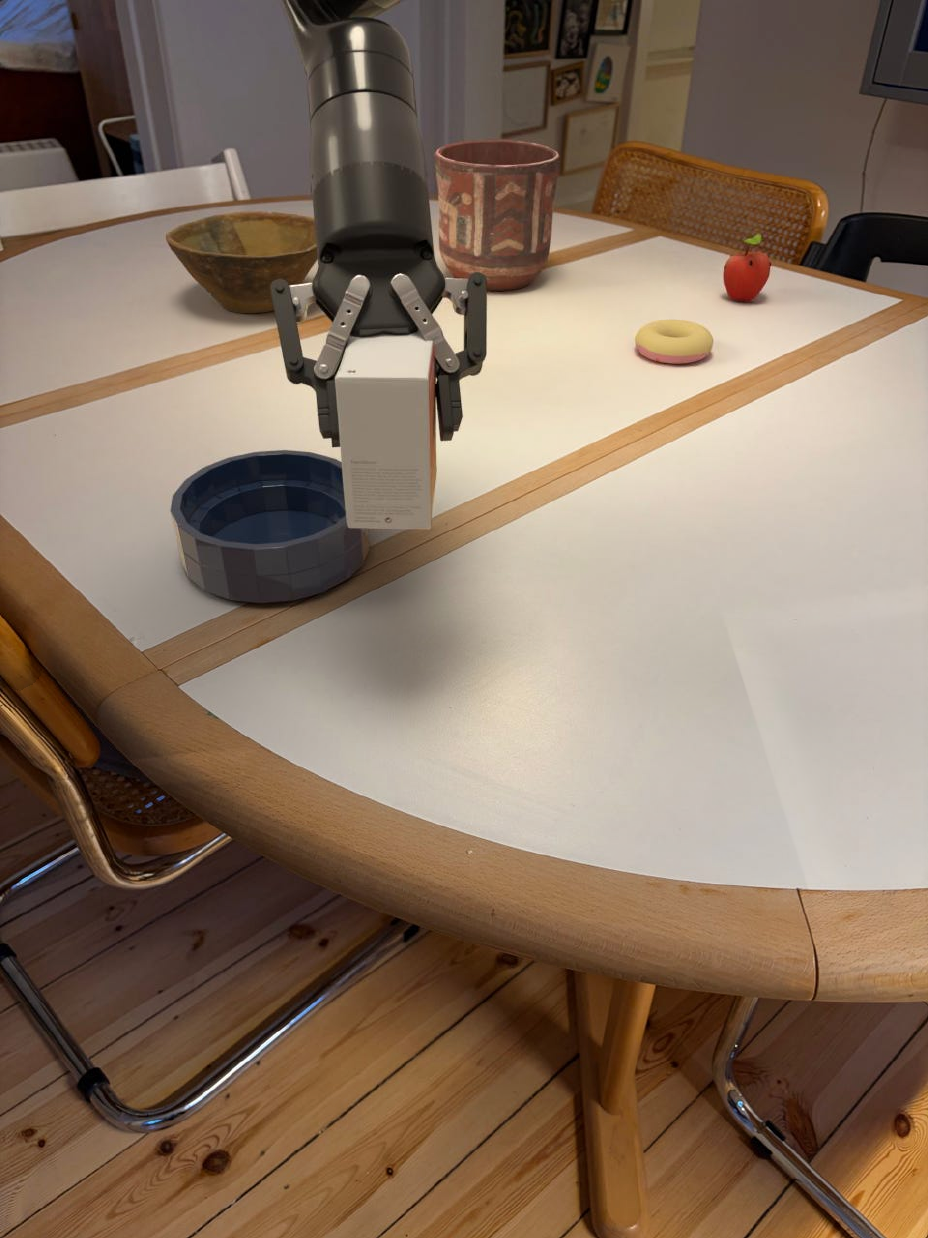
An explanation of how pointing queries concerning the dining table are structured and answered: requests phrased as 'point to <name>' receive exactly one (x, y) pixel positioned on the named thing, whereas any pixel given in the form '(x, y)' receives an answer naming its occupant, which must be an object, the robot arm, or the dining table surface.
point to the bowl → (246, 255)
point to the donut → (674, 341)
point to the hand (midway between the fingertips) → (392, 439)
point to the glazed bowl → (267, 527)
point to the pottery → (496, 209)
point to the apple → (746, 273)
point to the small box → (388, 431)
